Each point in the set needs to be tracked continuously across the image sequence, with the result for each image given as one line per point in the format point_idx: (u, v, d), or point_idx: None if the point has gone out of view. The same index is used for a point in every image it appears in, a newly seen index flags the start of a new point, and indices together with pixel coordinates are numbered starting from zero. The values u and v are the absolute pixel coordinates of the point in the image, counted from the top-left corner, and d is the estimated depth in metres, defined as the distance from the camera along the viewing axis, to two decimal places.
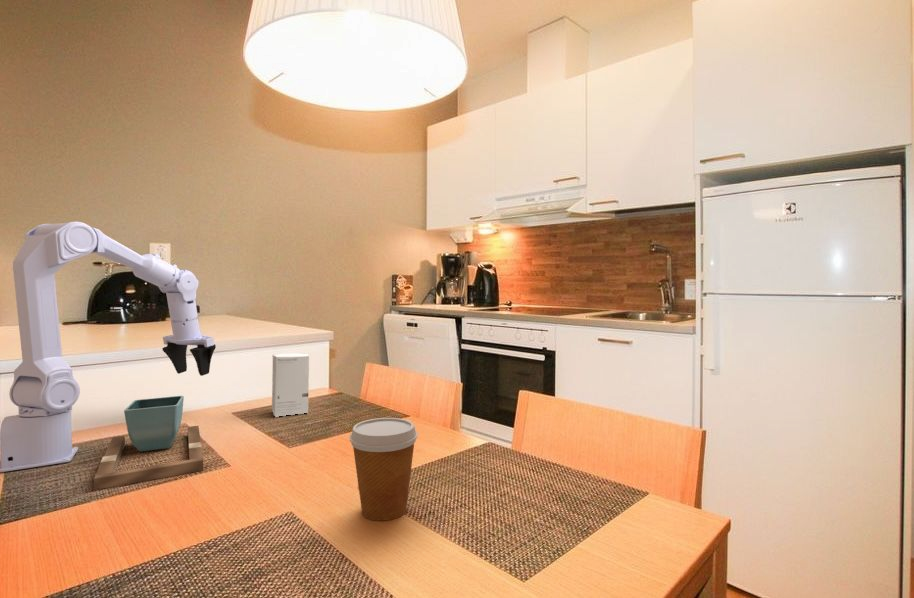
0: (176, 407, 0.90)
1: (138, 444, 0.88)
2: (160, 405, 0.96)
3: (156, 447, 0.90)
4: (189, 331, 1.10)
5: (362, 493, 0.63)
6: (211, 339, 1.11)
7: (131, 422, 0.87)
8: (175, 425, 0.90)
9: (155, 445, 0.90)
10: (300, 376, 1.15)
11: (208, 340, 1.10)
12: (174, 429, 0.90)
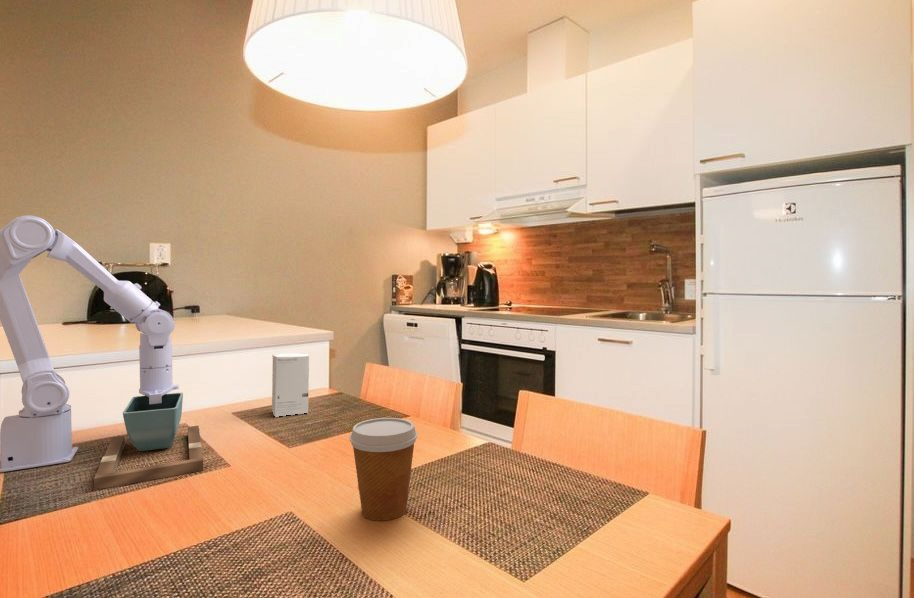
0: (175, 410, 0.89)
1: (138, 445, 0.88)
2: None
3: (156, 447, 0.90)
4: (148, 381, 0.94)
5: (362, 493, 0.63)
6: (158, 395, 0.91)
7: (130, 424, 0.86)
8: (175, 427, 0.90)
9: (155, 445, 0.90)
10: (300, 376, 1.15)
11: (152, 396, 0.91)
12: (174, 431, 0.90)
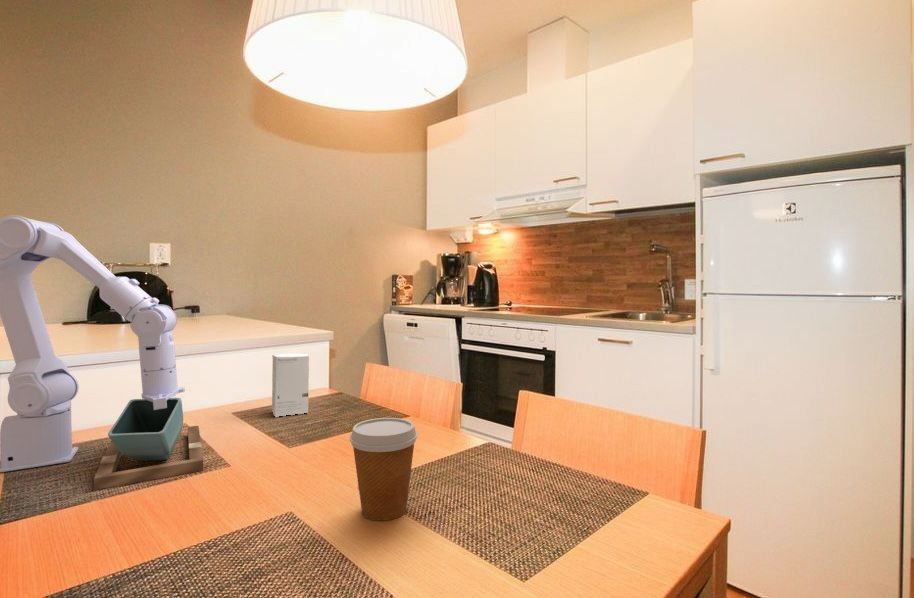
0: (162, 434, 0.79)
1: (133, 458, 0.83)
2: None
3: (153, 459, 0.84)
4: (151, 384, 0.86)
5: (362, 493, 0.63)
6: (162, 400, 0.83)
7: (119, 444, 0.79)
8: (166, 447, 0.81)
9: (151, 458, 0.84)
10: (300, 376, 1.15)
11: (157, 401, 0.83)
12: (166, 450, 0.82)
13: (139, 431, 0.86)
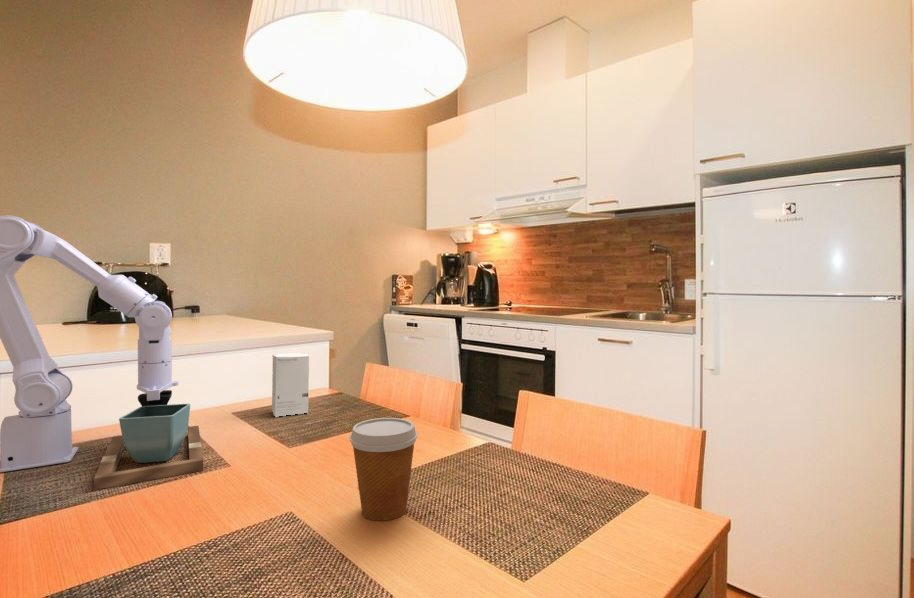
0: (171, 418, 0.83)
1: (134, 455, 0.82)
2: (166, 413, 0.90)
3: (153, 459, 0.84)
4: (146, 376, 0.90)
5: (362, 493, 0.63)
6: (156, 392, 0.87)
7: (126, 431, 0.81)
8: (171, 437, 0.83)
9: (152, 457, 0.83)
10: (300, 376, 1.15)
11: (150, 392, 0.87)
12: (170, 441, 0.83)
13: None
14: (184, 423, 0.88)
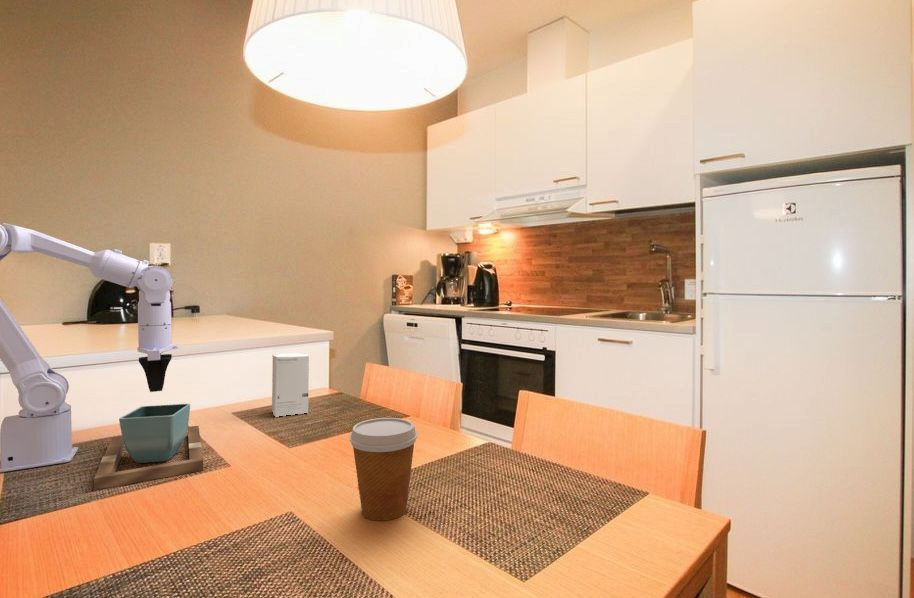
0: (171, 418, 0.83)
1: (134, 455, 0.82)
2: (166, 413, 0.90)
3: (153, 459, 0.84)
4: (147, 338, 0.92)
5: (362, 493, 0.63)
6: (156, 352, 0.89)
7: (126, 431, 0.81)
8: (171, 437, 0.83)
9: (152, 457, 0.83)
10: (300, 376, 1.15)
11: (151, 352, 0.89)
12: (170, 441, 0.83)
13: None
14: (184, 423, 0.88)
